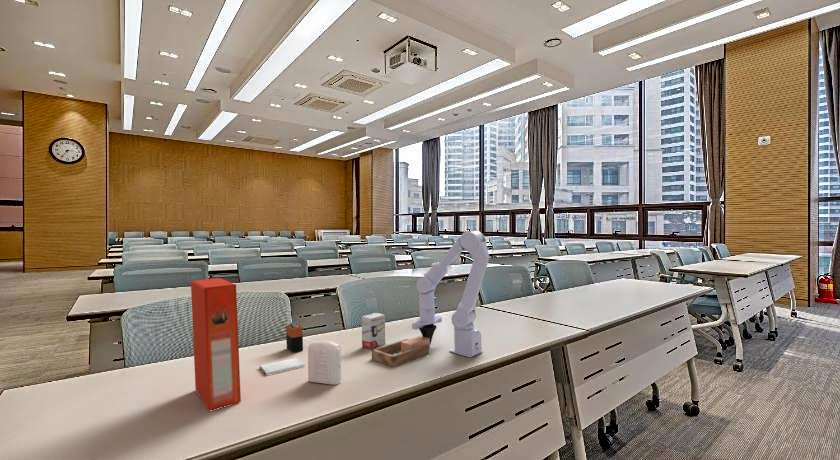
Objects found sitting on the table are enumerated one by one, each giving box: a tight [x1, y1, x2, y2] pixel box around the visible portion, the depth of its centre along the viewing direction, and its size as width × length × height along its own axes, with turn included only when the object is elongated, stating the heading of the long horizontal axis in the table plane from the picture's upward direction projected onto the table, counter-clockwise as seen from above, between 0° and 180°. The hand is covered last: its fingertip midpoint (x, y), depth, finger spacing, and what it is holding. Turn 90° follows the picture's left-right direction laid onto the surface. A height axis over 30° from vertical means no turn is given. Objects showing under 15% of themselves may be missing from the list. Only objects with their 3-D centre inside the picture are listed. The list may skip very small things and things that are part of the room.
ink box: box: [361, 312, 386, 350], centre depth 154 cm, size 9×5×12 cm, turn 143°
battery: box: [285, 321, 304, 353], centre depth 150 cm, size 4×7×10 cm, turn 35°
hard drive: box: [259, 357, 306, 376], centre depth 132 cm, size 2×8×12 cm
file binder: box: [190, 277, 242, 412], centre depth 110 cm, size 8×17×32 cm, turn 39°
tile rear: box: [411, 335, 431, 350], centre depth 148 cm, size 5×5×4 cm
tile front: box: [400, 338, 420, 353], centre depth 144 cm, size 5×5×4 cm
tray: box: [371, 338, 430, 368], centre depth 141 cm, size 11×17×3 cm, turn 136°
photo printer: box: [307, 340, 342, 386], centre depth 120 cm, size 10×4×12 cm, turn 72°
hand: (427, 344), depth 151 cm, fingers closed
